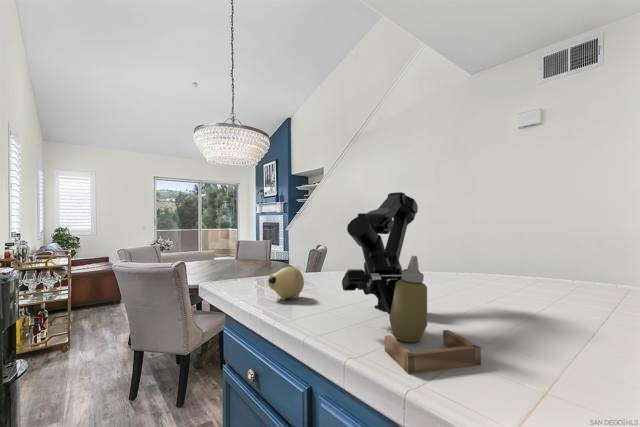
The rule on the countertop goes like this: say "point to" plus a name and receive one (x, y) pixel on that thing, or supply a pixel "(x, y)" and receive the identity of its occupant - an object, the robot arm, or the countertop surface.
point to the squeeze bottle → (409, 305)
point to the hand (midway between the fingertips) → (391, 313)
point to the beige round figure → (287, 282)
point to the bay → (435, 354)
